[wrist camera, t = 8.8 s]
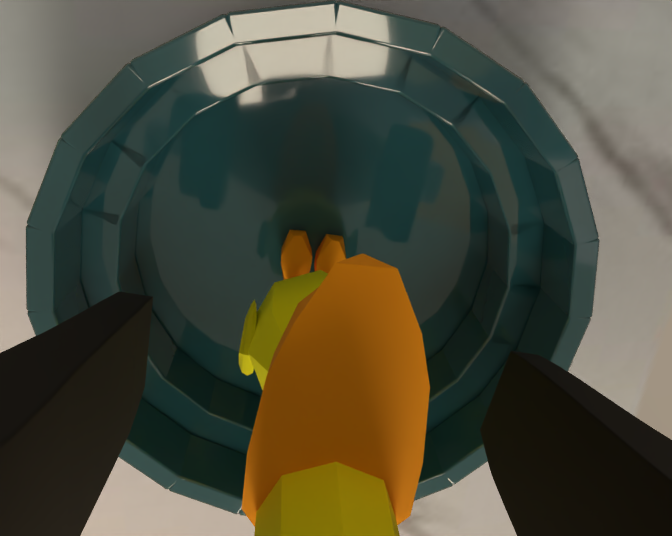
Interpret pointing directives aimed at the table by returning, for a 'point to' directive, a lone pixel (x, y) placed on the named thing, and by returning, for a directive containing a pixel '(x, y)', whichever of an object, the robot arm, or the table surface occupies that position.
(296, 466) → the toy figure
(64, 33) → the table surface
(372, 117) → the glazed bowl
